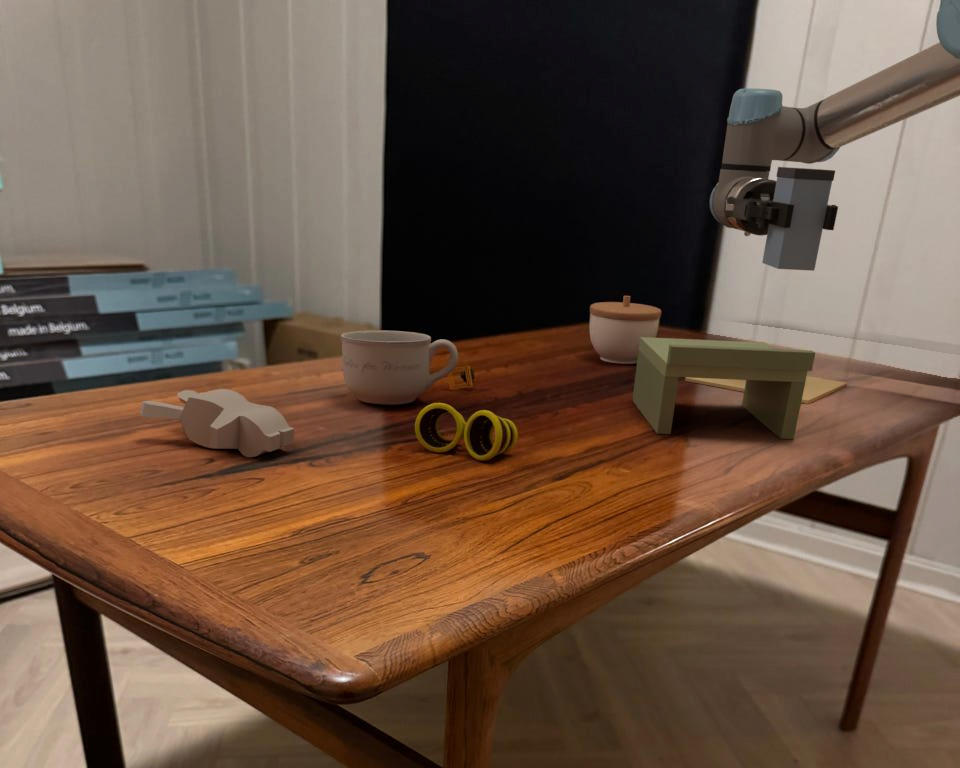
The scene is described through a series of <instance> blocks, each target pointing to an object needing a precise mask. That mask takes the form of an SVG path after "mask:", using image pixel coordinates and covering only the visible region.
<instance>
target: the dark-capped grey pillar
mask: <svg viewBox="0 0 960 768" xmlns="http://www.w3.org/2000/svg"><path fill="white" fill-rule="evenodd" d="M835 174H836V170H833V169H821V168H805V167H787V166H778V167H777V170H776V181H777V182H776V187H775V193H774V199H773V202H780V203H786V204H792V205H794V209H793V214H792V220H791V225H790V228H783V227H780V226H776V225H772V224H769V227H768V233H767V235H766V239H765V245H764V249H763V250H764V251H763V256H762V264H764V265H767V266H770V267H772V268H775V269H777V270H793V271H812V272H813V271H815V269H816V266H817V265H816V264H817V258H818V254H819V249H820V244H821V240H822V239H821V238H822V236H823V235H822V234H823V230H824V229H823V225H824V220H825V215H826V210H827V205H829V199H830V194H831V189H832V185H833V184H832V183H833V181H834V180H835Z"/></svg>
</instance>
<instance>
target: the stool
mask: <svg viewBox="0 0 960 768" xmlns="http://www.w3.org/2000/svg"><path fill="white" fill-rule="evenodd" d="M815 358H816V352H815V351H813V350H807V349H804V350H803V349H786V348H785V349H782V348H774V347H773V346H771V345H770V344H768V343H767V342H763V341H762V342H761V341H760V342H759V341H758V342H757V341H741V340H740V341H739V340H738V341H737V340H735V341H734V340H717V339H716V340H713V339H693V338H669V337H656V338H649V337H640V342H639V351H638V359H637V363H636V368H635V374H634V375H635V376H634V384H633V392H632V403H633V404H634V405H635V406H636V408H637V409H638V410H639V412H640V413H641V414H642V416H643V417H644V418H645V420H646V421H647V422H648V424H649V425H650V426H651V427H652V429H653V431H654V432H655V433H656V435H671V434H672V433H671V432H672V427H673V421H674V420H673V419H674V415H675V406H676V401H677V393H678V386H679V378H686V377H689V378H713V379H736V380H746V384H745V390H744V392H743V396H742V400H741V406H742V407H743V408H744V409H745V410H747V411H748V412H749V413H750V414H751V415H753V417H754V418H756V419H757V420H758V421H759V422H760V423H762V424H763V426H765V427H766V428H767V429H769V430H770V431H771V432H772V433H773V434H774V435H775V436H777V437H778V438H779V439H780V440H794V439H795V436H796V431H797V425H798V421H799V415H800V410H801V406H802V403H801V401H802V396H803V391H804V387H805V382H806V377H807V376H808V372H812V371H813V367H814V363H815V362H814V361H815Z"/></svg>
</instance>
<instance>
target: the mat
mask: <svg viewBox="0 0 960 768" xmlns="http://www.w3.org/2000/svg"><path fill="white" fill-rule="evenodd" d="M684 378H685V379H684V381H685V382H688V383H694V384H700V385H704V386H708V387H709V386H710V387H715V388H719V389H725V390H730V391H735V392H736V391H737V392H741V393H742V392H743V393H744V390H745V384H746V380H736V379H713V378H689V377H684ZM847 386H848V382H845V381H839V380H833V379H828V378H821V377H815V376H811V375H807V377H806V382H805V387H804V391H803V396H802V401H801V404H804V405H805V404H806V405H809V404H811V403H813V402H815V401H817V400H819V399H820V400H821V399H822V398H824V397H826V396H829V395H830V394H832V393H835V392H837V391H839V390H841V389H844V388H846V387H847Z"/></svg>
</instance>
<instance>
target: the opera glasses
mask: <svg viewBox="0 0 960 768" xmlns="http://www.w3.org/2000/svg"><path fill="white" fill-rule="evenodd" d="M448 414H450V415H451V416H452V417H453V419H454V421H455V423H456V424H455V425H456V432H455V436H454V438H446V437H444V436H442V434H441V433H440V431H439V421H440V420H441V418H442V417H444V416H445V415H448ZM414 433H415V436H416V439H417V441H418V442H419V443H420V445H421V446H422V447H423V448H424V449H426V450H428V451H430V452H432V453H441V454H442V453H446V452H449V451H451V450H453V449H454V448H455V447H456V446H457V445H458V444H459V443H460V441H461V440H462V439H463V441H464V445H465V448H466V451H467V452H468V454H469V455H470V457H472V458H473V459H475V460H476V461H481V462H485V461H490V460H491V459H493V458H494V457H495V456H498V455H500V454H505V453H509V452H510V451H512V450H513V449H514V448H515V446H516V444H517V442H518V438H519V433H518V428H517V427H516V425H515V423H514V422H513V421H512V420H510V419H508V418H506V417H505V418H502V417H501V416H499V415H496V414H495V413H494V412H493V411H490V410H488V409H481V410H477V411H475V412H474V413H473V414H472V415H471V416H470V417H469V418H468V420H467V421H466V420H465V418H464V417H463V415H462V414H461V413H460V412H459V411H457V409H455V408H454V407H453V406H451V405H449V404H447V403H443V402H433V403H430V404H428V405H426V406H425V407H423V408H422V409H421V410H420V411H419V413H418V414H417V416H416V419H415V423H414ZM493 433H494V438H493Z"/></svg>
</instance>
